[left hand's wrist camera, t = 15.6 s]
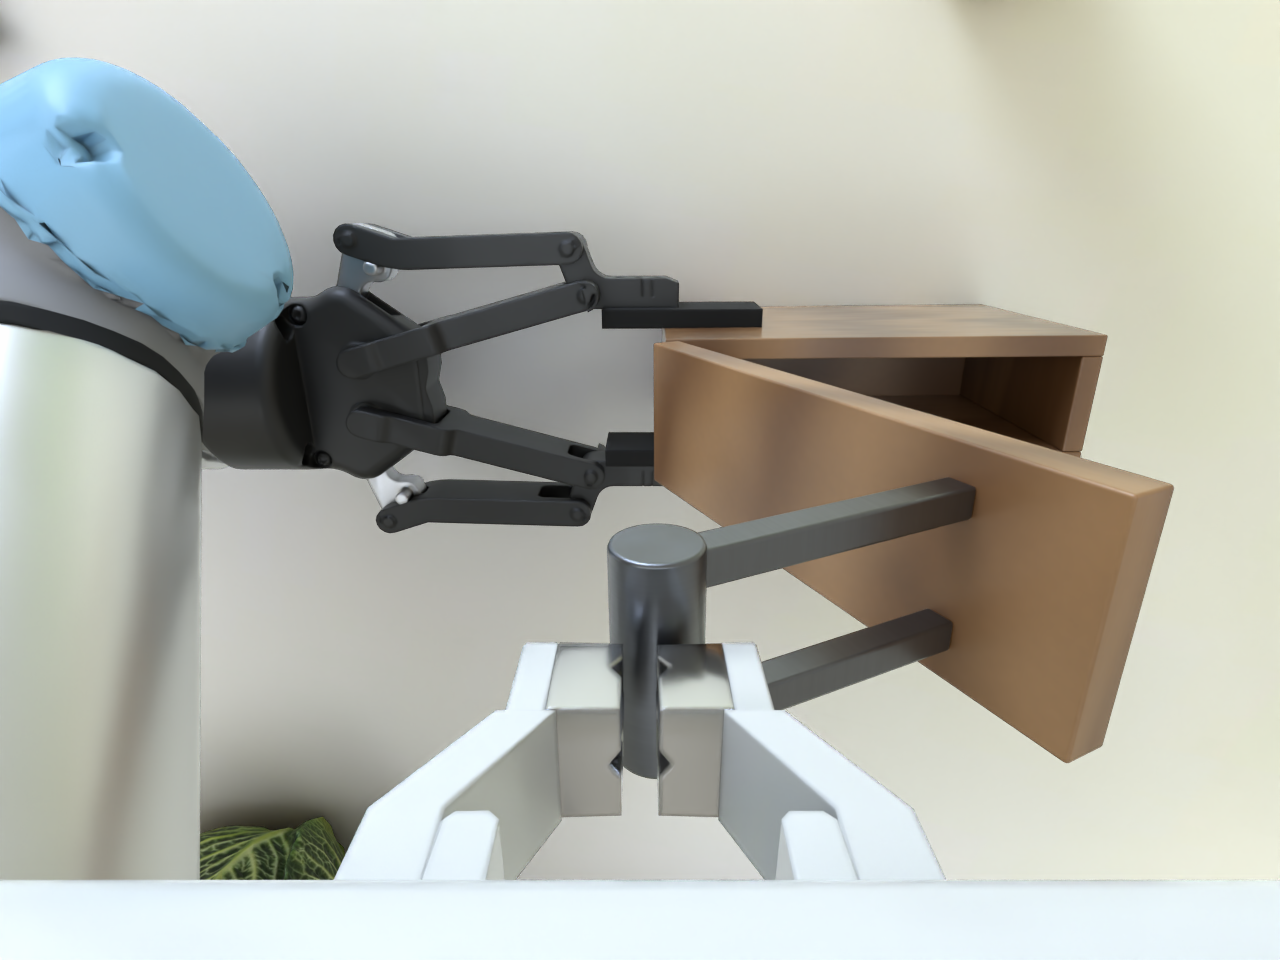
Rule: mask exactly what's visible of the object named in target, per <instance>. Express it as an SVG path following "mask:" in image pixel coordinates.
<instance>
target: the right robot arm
mask: <svg viewBox="0 0 1280 960" xmlns="http://www.w3.org/2000/svg"><path fill="white" fill-rule="evenodd" d="M333 241H334V244H335V246H336V248H337V249H338V250H339V251H340V252H341V253H342V257H341V263H340V269H339V275H338V281H337V286H335V287H331V288H328V289H326V290H324V291H323V292H322V293H320V294H318V295H317V296H314V297H290V296H291V292H292V289H293V267H292V261H291V256H290V252H289V248H288V245H287V243H286V240H285V238H284V235H283V233H282V230H281V227H280V225H279V223H278V221H277V219H276V217H275V215H274V213H273V211H272V209H271V207H270V206H269V204H268V202H267V200H266V199H265V197H264V196H263V194H262V192H261V191H260V189H259V188H258V186H257V185H256V183H255V182H254V181H253V179H252V178H251V176H250V175H249V174H248V172H247V171H246V170H245V168H244V167H243V166H242V164H241V163H240V162H239V160H238V159H237V158H236V157H235V156H234V155H233V153H232V152H231V151H230V150H229V149H228V148H227V147H226V146H225V145H224V144H223V143H222V141H221V140H220V139H219V138H218V137H217V136H215V135H214V134H213V133H212V132H211V131H210V130H209V129H208V128H207V127H206V126H205V125H204V124H203V123H202V122H200V121H199V120H198V119H197V118H196V117H195V116H194V115H193V114H192V113H191V112H190V111H189V110H188V109H187V108H186V107H184V106H183V105H182V104H181V103H179V102H178V101H177V100H176V99H174V98H173V97H172V96H170V95H169V94H168V93H166V92H165V91H164V90H162V89H161V88H159V87H157V86H156V85H154V84H152V83H151V82H149V81H147V80H146V79H144V78H142V77H140V76H138V75H136V74H134V73H133V72H131V71H128V70H126V69H123V68H121V67H118V66H116V65H113V64H110V63H107V62H103V61H99V60H95V59H85V58H60V59H56V60H51V61H48V62H45V63H42V64H40V65H38V66H36V67H34V68H32V69H30V70H28V71H26V72H24V73H22V74H20V75H18V76H16V77H14V78H12V79H10V80H8V81H6V82H4V83H2V84H0V880H200V723H201V511H202V469H223V468H226V467H229V466H230V467H233V468H236V469H323V468H333V469H338V470H341V471H344V472H347V473H349V474H351V475H353V476H355V477H358V478H362V479H367V481H368V483H369V485H370V487H371V489H372V491H373V492H374V494H375V496H376V498H377V500H378V502H379V504H380V506H381V508H382V510H381V511H380V512H379V513H378V515H377V517H376V522H377V525H378V527H379V528H380V529H381V530H383V531H384V532H387V533H395V532H398V531H402V530H405V529H408V528H411V527H414V526H417V525H421V524H424V523H427V522H438V523H474V524H510V525H546V526H583V525H585V524H586V523H587V522H588V521H589V520H590V516H591V513H592V510H593V507H594V505H595V502H596V499H597V497H598V495H599V493H600V492H601V491H602V490H603V489H604V488H606V487H609V486H662V485H661V484H659V483H658V482H656V481H655V480H654V432H609V433H608V439H607V444H606V447H605V446H604V445H602V444H600V443H599V445H598V448H596V447H593V446H589V445H585V444H581V443H577V442H573V441H569V440H566V439H562V438H558V437H554V436H550V435H546V434H542V433H539V432H535V431H531V430H527V429H523V428H519V427H515V426H512V425H508V424H504V423H500V422H496V421H492V420H488V419H485V418H481V417H477V416H473V415H471V414H469V413H468V412H467V411H465V410H463V409H459V408H456V407H452V406H448V405H446V399H445V395H444V392H443V389H442V387H441V384H440V381H439V375H440V369H441V363H442V362H441V353H443V352H446V351H448V350H451V349H455V348H458V347H462V346H465V345H469V344H472V343H476V342H479V341H483V340H486V339H490V338H493V337H497V336H500V335H504V334H507V333H511V332H514V331H518V330H521V329H525V328H528V327H532V326H535V325H539V324H542V323H546V322H549V321H553V320H556V319H560V318H563V317H566V316H570V315H573V314H577V313H580V312H584V311H588V312H589V311H591V310H593V309H602V329H625V328H745V327H762V317H763V309H762V308H761V307H760V306H758V305H757V304H756V303H755V302H679V283H678V281H677V280H675V279H672V278H670V277H668V276H607V275H604V274H602V273H601V272H599V271H598V270H597V268H596V267H595V265H594V263H593V260H592V258H591V255H590V252H589V250H588V247H587V242H586V239H585V238H584V237H583V235H581V234H580V233H578V232H544V233H515V234H487V235H458V236H429V237H411V236H408V235H405V234H402V233H399V232H396V231H393V230H390V229H387V228H384V227H381V226H378V225H375V224H369V223H358V224H342V225H339V226H338V227H337V228H336V229H335V232H334V234H333ZM538 265H559V266H560V268H561V271H562V273H563V276H564V278H565V281H566V282H563V283H560V284H556V285H553V286H550V287H546V288H543V289H539V290H536V291H532V292H529V293H526V294H522V295H519V296H515V297H512V298H509V299H505V300H502V301H498V302H495V303H491V304H488V305H485V306H481V307H478V308H474V309H471V310H468V311H464V312H461V313H457V314H454V315H449V316H445V317H442V318H438V319H435V320H431V321H428V322H425V323H421V324H416V323H415V322H413V321H412V320H410V319H409V318H407V317H406V316H404V315H403V314H401V313H400V312H398V311H397V310H396V309H394V308H393V307H391V306H390V305H388V304H387V303H385V302H384V301H382V300H381V299H379V298H378V297H376V296H375V295H373V294H372V293H370V292H369V291H368V290H369V287H370V286H371V284H372V283H373V282H383V281H387V280H391V279H393V278H394V277H395V276H396V275H397V274H398V271H399V270H419V269H449V268H479V267H509V266H538ZM413 450H418V451H422V452H426V453H430V454H434V455H438V456H447V455H455V456H459V457H463V458H467V459H471V460H475V461H479V462H483V463H487V464H491V465H495V466H498V467H502V468H506V469H510V470H514V471H518V472H522V473H526V474H530V475H534V476H538V477H542V478H546V479H550V480H554V481H557V482H527V481H491V480H454V479H448V480H435V481H430V482H426V483H425V482H424V479H423V478H422V477H421V476H418V475H404V474H401V473H399V472H397V471H396V470H395V469H394V467H393V465H395V464H396V463H397V462H399V461H400V460H401V459H403V458H404V457H405V456H407V455H408V454H409V453H410V452H412V451H413Z"/></svg>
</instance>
